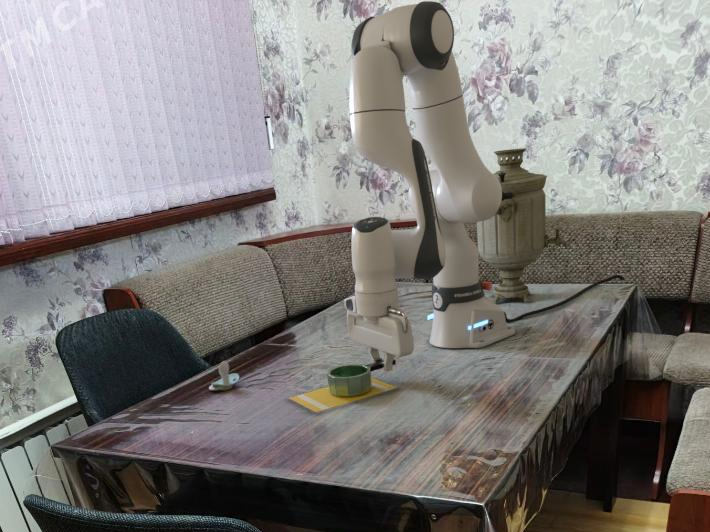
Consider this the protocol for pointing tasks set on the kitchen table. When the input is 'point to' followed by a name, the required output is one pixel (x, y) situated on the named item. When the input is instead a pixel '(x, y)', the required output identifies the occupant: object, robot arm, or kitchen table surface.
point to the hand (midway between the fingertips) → (382, 368)
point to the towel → (336, 397)
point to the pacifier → (224, 378)
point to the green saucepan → (352, 379)
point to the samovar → (516, 225)
